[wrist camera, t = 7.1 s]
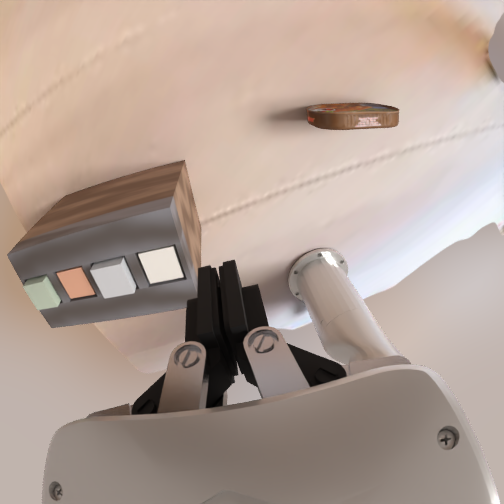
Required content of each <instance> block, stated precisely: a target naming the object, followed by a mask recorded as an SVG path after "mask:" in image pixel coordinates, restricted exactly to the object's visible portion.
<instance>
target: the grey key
mask: <svg viewBox="0 0 504 504" xmlns="http://www.w3.org/2000/svg"><path fill="white" fill-rule="evenodd" d="M90 272H91V274H92V276H93V278H94V280H95V282H96V284H97V285H98V287H99V289H100V291H101V293H102V295H103V297H104V298H105V299H106V298H111V297H117V296H122V295H128V294H133V293H135V289H136V286H137V283H136V280H135V278H134V276H133V274H132V272H131V269H130V267H129V265H128V262H127V260H126V258H125V255H124V256H120V257H115V258H111V259H107V260H103V261H98V262H94V264H93V266H92V268H91V270H90Z"/></svg>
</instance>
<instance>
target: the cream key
mask: <svg viewBox="0 0 504 504" xmlns="http://www.w3.org/2000/svg"><path fill="white" fill-rule="evenodd" d="M138 255H139V258H140V260H141V263H142V265H143V268H144V270H145V272H146V275H147V277H148V280H149V282H150V284H151V283H156V282H162V281H167V280H172V279H177V278H182V277H184V270H183V267H182V264H181V261H180V258H179V255H178V252H177V248H176V245H175V244H174V245H169V246H164V247H160V248H155V249H151V250H146V251H142V252H139V253H138Z"/></svg>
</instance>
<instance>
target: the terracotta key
mask: <svg viewBox="0 0 504 504" xmlns="http://www.w3.org/2000/svg"><path fill="white" fill-rule="evenodd" d="M56 274H57V275H58V277H59V279H60V281H61V283H62V284H63V286H64V288H65V290H66V291H67V293H68V295H69V297H70V298H71V299H72V298H77V297H83V296H88V295H94V294H95V293H96V292H95V290H94V289H93V287H92V285H91V283H90V281H89V279H88V277H87V275H86V273H85V271H84V269H83V267H82V266H77V267H73V268H69V269H65V270H61V271H58V272H57V273H56Z"/></svg>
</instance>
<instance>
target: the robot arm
mask: <svg viewBox="0 0 504 504" xmlns="http://www.w3.org/2000/svg"><path fill="white" fill-rule="evenodd" d="M347 274H348V265H347V262H346V260H345V258H344V257H343V256H342V255H341V254H340V253H339V252H337V251H335V250H332V249H317V250H314V251H311V252H309V253H307V254H305V255H304V256H302V257H301V258H300V259H299V260H298V261H297V262H296V263H295V264H294V265H293V267H292V268H291V271H290V273H289V277H288V284H289V288H290V290H291V292H292V294H293V295H294V296H295V297H296V298H298V299H300V300H302V301H304V303H305V305H306V308H307V310H308V312H309V315H310V317H311V319H312V322H313V324H314V326H315V329H316V331H317V333H318V336H319V338H320V340H321V343H322V345H323V347H324V349H325V351H326V352H327V354H328V355H329V356H331V357H332V358H333V359H335V360H336V361H339V362H341V363H344V364H346V365H340V364H338V363H336V362H334V361H331V360H328V359H326V358H323V357H320V356H318V355H315V354H312V353H310V352H308V351H305V350H303V349H300V348H297V347H295V346H293V345H290V344H288V343H286V342H285V340H284V338H283V336H282V334H281V333H280V332H279V330H277V329H275V328H273V327H269V325H268V321H267V317H266V313H265V310H264V306H263V302H262V298H261V294H260V290H259V287H258V284H257V285H252V286H248V287H243V288H242V285H241V282H240V278H239V274H238V270H237V266H236V262H235V260H231V261H227V262H223V266H219V275H220V280H219V277H218V273H217V270H216V268H211V266H210V265H209V266H205V267H201V268H198V287H197V298H193V299H189V300H187V309H186V331H185V342H184V343H182V344H180V345H178V346H177V347H176V348H175V349H174V350H173V351H172V353H171V355H170V358H169V363H168V367H167V371H166V373H165V374H164V375H163V376H162V377H160V378H159V379H158V380H157V381H156V382H155V383H154V384H153V385H152V386H151V387H150V388H149V389H148V390H147V391H146V392H144V393H143V394H142V395H141V396H140V397H139V398H138V399H137V400H136V401H135V403H134V404H133V405H130V404H129V403H128V404H125V405H121V406H117V407H114V408H110V409H106V410H102V411H98V412H94V413H92V414H89V415H88V416H87V418H84V419H80V420H76V421H73V422H70V423H68V424H66V425H64V426H62V427H61V428H59V429H58V430H57V431H56V432H55V434H54V436H53V437H52V440H51V443H50V446H49V449H48V453H47V458H46V464H45V470H44V478H43V491H42V504H500V500H499V497H498V493H497V489H496V486H495V483H494V480H493V477H492V474H491V471H490V468H489V465H488V462H487V460H486V457H485V455H484V452H483V450H482V448H481V445H480V443H479V441H478V439H477V436H476V434H475V432H474V430H473V428H472V426H471V424H470V421H469V419H468V418H467V416H466V414H465V412H464V410H463V408H462V407H461V405H460V403H459V401H458V400H457V398H456V396H455V395H454V393H453V392H452V390H451V389H450V387H449V386H448V385H447V383H446V382H445V381H444V380H443V378H442V377H441V376H440V375H439V374H438V373H437V372H435V371H434V370H432V369H431V368H428V367H426V366H422V365H413V364H411V363H410V361H409V360H408V359H406V358H405V357H404V356H403V355H402V354H401V353H400V352H399V350H398V349H397V348H396V347H395V346H394V345H393V343H391V341H390V340H389V338H388V337H387V336H386V335H385V333H384V332H383V330H382V329H381V327H380V326H379V324H378V323H377V321H376V320H375V318H374V316H373V315H372V313H371V312H370V310H369V309H368V307H367V306H366V304H365V302H364V301H363V299H362V298H361V296H360V295H359V293H358V292H357V290H356V289H355V287H354V286H353V284H352V283H351V281H350V280H349V278H348V277H347ZM237 363H238V366H239V368H240V371H241V373H242V374H244V375H245V378H246V380H247V382H249V383H251V384H253V385H254V386H256V387H258V390H259V393H260V395H261V398H262V399H259V400H254V401H249V402H244V403H238V404H232V405H227V391H226V390H227V389H228V388H229V387H230V385H231V384H232V383H235V380H234V376H237V375H238V368H237Z"/></svg>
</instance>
